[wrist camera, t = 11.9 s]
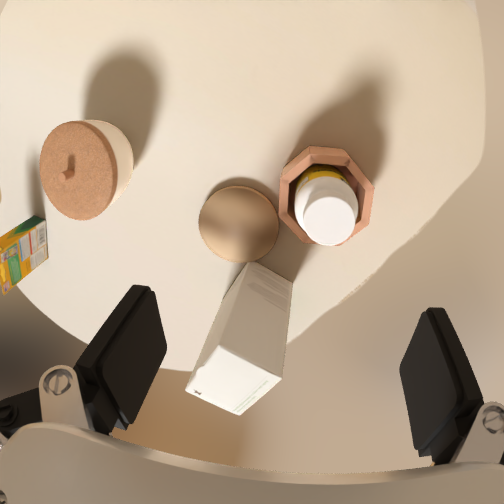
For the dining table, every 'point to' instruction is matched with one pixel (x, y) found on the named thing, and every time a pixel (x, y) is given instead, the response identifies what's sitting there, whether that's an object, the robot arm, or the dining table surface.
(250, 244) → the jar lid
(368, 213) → the terracotta octagonal planter pot
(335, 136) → the dining table surface
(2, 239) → the crayon box
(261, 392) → the skincare box
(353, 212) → the supplement bottle
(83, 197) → the lidded jar
